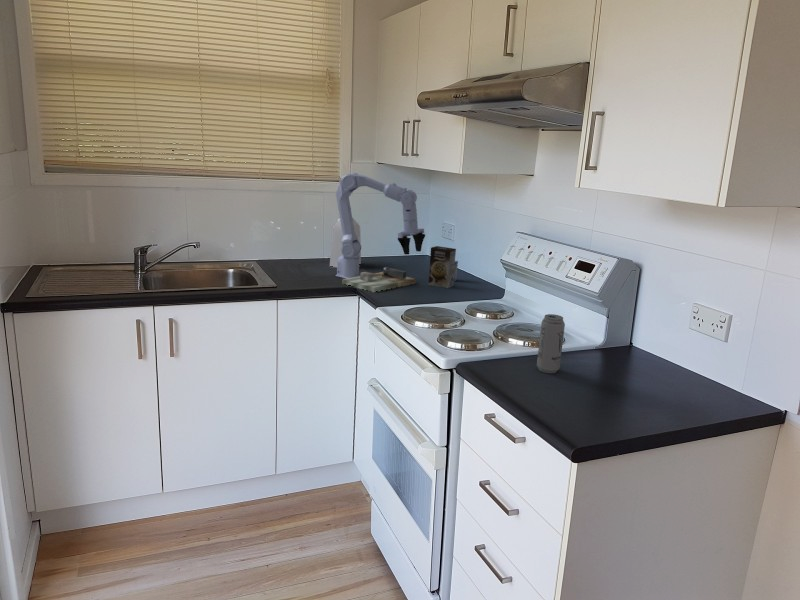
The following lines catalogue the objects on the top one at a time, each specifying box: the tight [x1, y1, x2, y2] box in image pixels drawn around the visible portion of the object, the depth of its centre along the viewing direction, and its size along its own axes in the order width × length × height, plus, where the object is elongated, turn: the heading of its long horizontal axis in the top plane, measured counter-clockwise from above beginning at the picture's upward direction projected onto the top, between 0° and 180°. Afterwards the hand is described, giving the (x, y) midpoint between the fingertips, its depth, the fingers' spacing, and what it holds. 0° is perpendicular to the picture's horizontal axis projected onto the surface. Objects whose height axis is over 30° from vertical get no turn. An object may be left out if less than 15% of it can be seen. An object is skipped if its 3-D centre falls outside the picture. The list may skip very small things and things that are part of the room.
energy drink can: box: [536, 313, 566, 374], centre depth 162 cm, size 6×6×15 cm
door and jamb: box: [341, 271, 417, 293], centre depth 252 cm, size 18×26×5 cm
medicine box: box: [453, 260, 459, 283], centre depth 265 cm, size 8×4×9 cm, turn 76°
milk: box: [329, 217, 362, 268], centre depth 283 cm, size 12×12×26 cm
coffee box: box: [428, 245, 457, 289], centre depth 253 cm, size 9×6×16 cm
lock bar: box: [382, 266, 408, 279], centre depth 255 cm, size 12×3×3 cm, turn 49°
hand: (412, 252), depth 253 cm, fingers open, 7 cm apart
